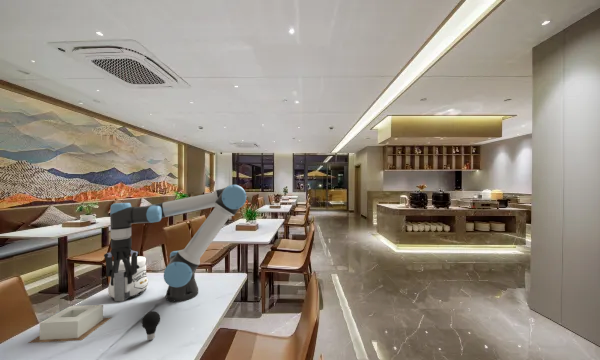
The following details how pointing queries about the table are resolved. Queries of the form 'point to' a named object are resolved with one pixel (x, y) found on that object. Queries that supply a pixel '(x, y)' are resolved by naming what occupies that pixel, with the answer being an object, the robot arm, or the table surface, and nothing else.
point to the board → (73, 338)
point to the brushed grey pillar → (120, 286)
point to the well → (71, 322)
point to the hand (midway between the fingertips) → (122, 291)
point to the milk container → (134, 278)
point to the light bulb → (151, 323)
